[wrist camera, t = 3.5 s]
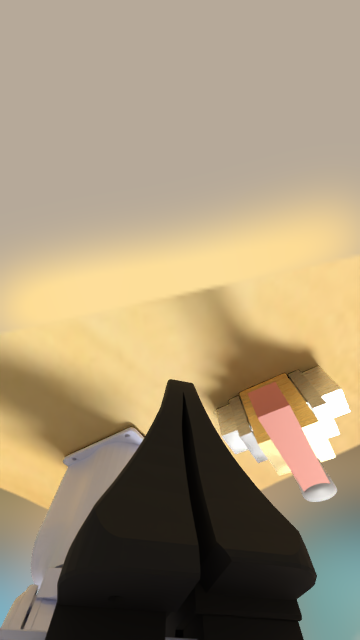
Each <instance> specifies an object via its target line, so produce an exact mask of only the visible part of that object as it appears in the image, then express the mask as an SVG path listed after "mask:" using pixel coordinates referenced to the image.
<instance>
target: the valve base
mask: <svg viewBox="0 0 360 640" xmlns="http://www.w3.org/2000/svg"><path fill="white" fill-rule="evenodd" d="M288 375H289V378H288V377H287V375H286V374H285V373H283V374H281V375H279V376H276V377H274V378H272V379H269V380H267V381H265V382H263V383H260V384H258V385H256V386H253V387H251V388H249V389H247V390H244V391H242V392H240V393H239V394H240V397H241V399H240V397H239V396H237V397H234V398H232V399H230V400H229V402H230V404H228V405H226V406H223V407H221V408H219V409H216V412H217V417H218V421H219V426H220V431H221V436H222V438H223V439H224V440H225V441H226V443H227V444H228V445H229V447H230V448H231V449H232V451H233V452H234V453H235V454H238V453H240V452H243V451H246V450H249V451H250V452H251V454H252V455H253V457H254V458H255V459H256V461H257V462H258V463H260V462H263V461H265V460H269V462H270V463H271V465H272V466H273V467H274V469H275V470H276V472H277V473H278V475H279V476H281V475H284V474H287V473H290V472H291V470H290V469H289V467H288V466H287V464H286V462H285V461H284V459H283V458H282V456H281V454H280V453H279V451H278V450H277V448H276V446H275V445H274V443H273V442H272V440H271V438H270V437H269V435H268V434H267V432H266V431H265V429H264V427H263V426H262V424H261V423H260V421H259V419H258V418H257V415H256V413H255V410H254V408H253V406H252V403H251V401H250V398H249V396H248V393H250V392H252V391H254V390H257V389H259V388H261V387H264V386H266V385H268V384H271V383H273V382H276V384H277V385H278V387H279V389H280V390H281V392H282V394H283V395H284V397H285V398H286V400H287V402H288V403H289V405H290V407H291V409H292V411H293V413H294V414H295V416H296V418H297V420H298V422H299V424H300V426H301V428H302V430H303V432H304V434H305V436H306V438H307V440H308V441H309V443H310V445H311V447H312V449H313V451H314V453H315V455H316V457H317V458H318V459H319V460H320V461H321V462H323V461H326V460H329V459H332V458H335V457H336V456H335V454H334V452H333V450H332V447H331V445H330V443H329V441H328V438H331V437H334V436H336V435H339V434H340V433H339V431H338V428H337V426H336V423H335V421H334V419H333V418H335V417H338V416H340V415H343V414H346V413H348V412H350V411H349V408H348V405H347V402H346V399H345V397H344V394H343V391H342V389H341V388H340V387H339V386H338V385H337V384H336V383H335V382H334V381H333V380H332V379H331V378H330V377H329V376H328V375H327V374H326V373H325V372H324V371H323V370H322V369H321V368H320V367H319V366H317V367H314V368H312V369H310V370H307V371H305V372H303V373H301V371H300V370H297V371H294V372H292V373H290V374H288Z"/></svg>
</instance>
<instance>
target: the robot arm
mask: <svg viewBox="0 0 360 640" xmlns="http://www.w3.org/2000/svg"><path fill="white" fill-rule="evenodd" d="M63 463H64V464H65V465H67V466H68V468H67V470H66V472H65V475H64V477H63V479H62V481H61V483H60V486H59V488H58V490H57V492H56V494H55V496H54V499H53V501H52V503H51V505H50V507H49V510H48V512H47V514H46V516H45V518H44V520H43V523H42V525H41V527H40V530H39V532H38V534H37V537H36V540H35V543H34V547H33V552H32V560H31V573H32V578H33V581H34V583H35V585H30V586H29V587H28V588H27V590H26V591H25V592H23V593H22V594H21V595H20V596H19V597H18V598H16V600H15V601H14V603H13V605H12V607H11V608H10V610H9V612H8V614H7V616H6V618H5V620H4V623H3V625H2V627H1V628H0V640H304V639H303V636H302V633H301V629H300V626H299V623H298V621H301V620H302V615H301V612H300V609H299V606H298V602H297V598H299V597H300V596H301V595H303V594H304V593H305V592H307V591H308V590H309V589H311V588H312V587H313V586H314V584H315V581H316V577H317V575H316V572H315V570H314V567H313V565H312V562H311V559H310V557H309V554H308V551H307V549H306V546H305V544H304V542H303V540H302V538H301V535H300V533H299V531H298V530H297V529H296V528H295V527H294V526H293V525H292V524H291V523H290V522H289V521H288V520H287V519H286V518H285V517H284V516H283V515H282V514H281V513H280V512H279V511H278V510H277V509H276V508H275V507H274V506H273V505H272V504H271V502H270V501H269V500H268V499H267V498H266V497H265V496H264V495H263V494H262V492H261V491H260V490H259V489H258V488H257V487H256V485H255V484H254V483H253V482H252V481H251V479H250V478H249V477H248V476H247V474H246V473H245V472H244V471H243V469H242V468H241V467H240V466H239V464H238V463H237V461H236V460H235V459H234V457H233V456H232V455H231V453H230V452H229V450H228V449H227V447H226V446H225V444H224V443H223V441H222V439H221V438H220V436H219V435H218V433H217V431H216V429H215V428H214V426H213V424H212V422H211V420H210V419H209V417H208V415H207V413H206V411H205V409H204V407H203V405H202V403H201V400H200V398H199V396H198V394H197V391H196V389H195V387H194V385H193V383H188V382H183V381H177V380H172V379H170V380H168V383H167V386H166V390H165V393H164V397H163V401H162V404H161V407H160V410H159V412H158V414H157V416H156V418H155V420H154V422H153V424H152V425H151V427H150V429H149V431H148V432H147V434H146V436H145V437H143V436H142V435H141V434H140V433H139V432H138V431H137V430H136V429H135V428H133V427H130V428H128V429H125V430H123V431H121V432H119V433H117V434H114V435H112V436H110V437H108V438H106V439H103V440H101V441H99V442H97V443H95V444H92V445H90V446H88V447H86V448H84V449H81V450H79V451H77V452H75V453H72V454H70V455H68V456H66V457H65V458H64V460H63ZM37 590H39V591H38V594H37V595H36V593H37Z"/></svg>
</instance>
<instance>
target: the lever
mask: <svg viewBox="0 0 360 640" xmlns="http://www.w3.org/2000/svg"><path fill="white" fill-rule="evenodd" d="M248 396H249V398H250V401H251V403H252V406H253V408H254V410H255V413H256V415H257V418H258V419H259V421H260V423H261V424H262V426H263V427H264V429H265V431H266V432H267V434H268V435H269V437H270V438H271V440H272V442H273V443H274V445H275V446H276V448H277V450H278V451H279V453H280V454H281V456H282V458H283V459H284V461H285V462H286V464H287V466H288V467H289V469H290V470H291V472H292V474H293V475H294V477H295V479H296V481H297V484H298V486H299V488H300V490H301V492H302V495H303V497H304V498H305V499H306V500H308V501H312V502H319V501H324V500H327V499H329V498H331V497H332V496H334V495H335V494H336V492H337V488H336V486H335V485H334V483H333V481H332V480H331V478H330V476H329V475H328V473H327V471H326V470H325V468H324V466H323V465H322V463H321V461H320V460H319V459H318V458H317V457H316V455H315V453H314V451H313V449H312V447H311V445H310V443H309V441H308V440H307V438H306V436H305V434H304V432H303V430H302V428H301V426H300V424H299V422H298V420H297V418H296V416H295V414H294V413H293V411H292V409H291V407H290V405H289V403H288V402H287V400H286V398H285V397H284V395H283V394H282V392H281V390H280V389H279V387H278V385H277V384H276V382H273V383H271V384H268V385H266V386H264V387H261V388H259V389H257V390H254V391H252V392H250V393H248Z"/></svg>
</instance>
